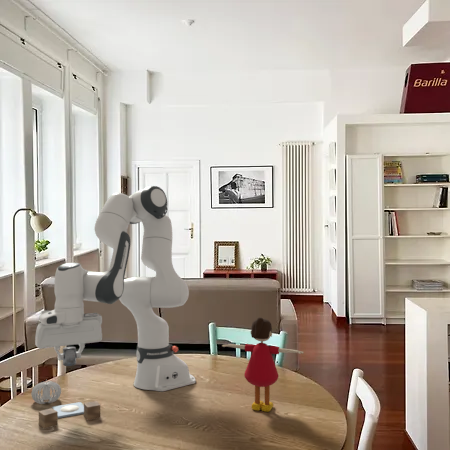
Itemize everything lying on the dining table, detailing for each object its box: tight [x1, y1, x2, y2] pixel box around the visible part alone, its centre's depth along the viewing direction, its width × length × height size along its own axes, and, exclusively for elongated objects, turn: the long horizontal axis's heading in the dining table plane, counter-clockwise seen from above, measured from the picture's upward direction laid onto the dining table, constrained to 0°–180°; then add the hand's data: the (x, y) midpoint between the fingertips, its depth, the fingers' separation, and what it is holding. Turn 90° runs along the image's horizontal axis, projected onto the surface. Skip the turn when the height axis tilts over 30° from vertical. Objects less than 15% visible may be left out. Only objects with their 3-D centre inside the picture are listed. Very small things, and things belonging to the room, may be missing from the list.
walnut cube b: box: [38, 407, 59, 430], centre depth 157 cm, size 4×4×4 cm
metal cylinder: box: [62, 346, 77, 367], centre depth 167 cm, size 4×4×5 cm
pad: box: [51, 401, 84, 419], centre depth 168 cm, size 9×9×1 cm
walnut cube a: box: [83, 400, 101, 421], centre depth 163 cm, size 4×4×4 cm
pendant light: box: [30, 310, 62, 405], centre depth 176 cm, size 9×9×30 cm
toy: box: [221, 317, 304, 413], centre depth 168 cm, size 27×11×30 cm, turn 71°
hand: (69, 358), depth 167 cm, fingers closed on metal cylinder, 4 cm apart
